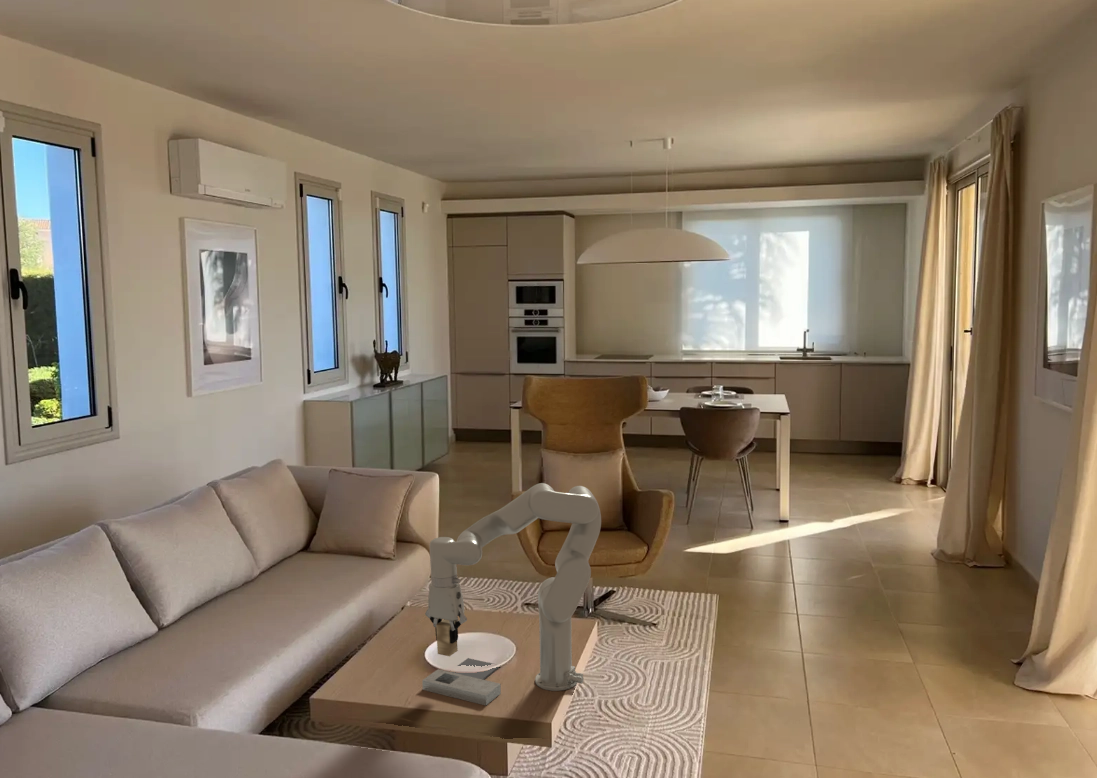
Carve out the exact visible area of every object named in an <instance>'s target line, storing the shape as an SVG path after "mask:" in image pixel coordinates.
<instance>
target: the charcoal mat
mask: <svg viewBox="0 0 1097 778" xmlns="http://www.w3.org/2000/svg"><path fill="white" fill-rule="evenodd" d="M491 664H494V663H492V662H488V661H487V662H486V661H484V660H483V661H482V660H478V659H474V658H469V657H467V658H466V659H465V660H463V661H462V662H461V663H459V664H457V666H461V665H466V666H469V665H470V666H472V665H473V666H474V667H475V665H476V666H481V667H482V666H485V665H487V666H488V665H491ZM498 668H499V667H496V668H492V669H490V670H488V671H484V672H477V673H456V672H455V673H456V674H461V675H465V676H469V677H474V678H478V679H482V680H487V679H488V678H489V677H490V676H491V675H492V674H494V673H495V672H496V671H497V670H499V669H500V668H499V669H498ZM452 673H454V672H452Z"/></svg>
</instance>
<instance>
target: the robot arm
mask: <svg viewBox="0 0 1097 778" xmlns="http://www.w3.org/2000/svg"><path fill="white" fill-rule="evenodd" d="M601 514H602V513H601V509H600V505H599V503H598V500H597V498H596V497H595V495H594V494H593V493H592V491H591V490H590V489H589V488H588V487H585V486H583V485H575V486H573V487H571V488H570V489H569V491H568V492H561V491H555V490H554V488H553V487H552V486H550V485H549V484H547V483H545V482H541V483H537V484H534V485H533V486H531V487H530V488H529V489H526V490H525V491H524V492H523V493H521V494H520V495H518V496H517V497H516V498H514V499H513V500H512V501H510V502H508V503H507V504H505V505H504V506H502V507H501V508H500V509H498V510H496V511H493V512H491V513H489V514H487V515H485V516H484V517H482V518H480V519H479V520H477V521H475V522H474V523H473V524H472V525H470V526H469V527H467V528H466V529H464V530H463V531H462V532H461V533H460V534H459V535H458V537H457V539H456V541H455V540H454V538H452V537H448V536H440V537H436V538H433V539H431V541H430V542H429V560H430V563H429V564H430V566H429V567H430V580H431V581H430V584H429V588H428V595H427V596H428V600H427V603H428V604H427V607H428V608H427V609H426V611H425V613H424V614H425V615H424V616H426V617H427V618H428V619H429V620H430V622H431V623H432V624H433V628H435V641H437V631H436V624H438V623H439V622H441V621H443V620H444V619H445V620H449V622H450V627H451V630H450V643H452V644H453V643H454V642H456V641H457V642H458V640H459V628H460V627H461V626H462V625H463V624H464V623H466V622H467V621H468V618H467V617H466V614H465V604H464V603H465V602H464V595H463V591H462V587H461V584H460V583H461V579H460V578H459V577H458V569H457V566H458V565H461V566H473V565H476V564H477V563H478V562H479V561H481V560H482V556H483V548H484V547H486V545H488V544H489V543H491V542H492V541H493V540H495V539H497V538H499V537H502V536H505V535H515V534H518V533H519V532H521V531H522V530H523V529H525V528H526V527H528V526H529V525H531V524H533V522H535V521H536V520H538V519H540V520H545V521H551V522H559V523H566V524H568V523H569V524H571V526H570V529H569V531H568V534H567V536H566V538H565V540H564V541H563V543H562V546H561V549H560V550H559V552H558V553H557V556H556V558H555V561H554V562H555V563H554V565H555V570H556V574H555V576H552V577H548V578H547V579H545V580H543V582H541V584H540V586H539V589H538V593H537V603H538V618H539V619H538V622H539V669H540V670H539V673H537V674H536V676H535V679H534V682H535V685H536V686H537V687H538V688H541V689H542V690H546V691H551V692H560V691H566V690H570V689H571V688H572V689H573V687H575V686H576V685H577V684H583V683H584V674H583V673H580V672H577V671H576V666H575V665H573V662H572V661H573V657H572V655H573V653H572V652H573V651H572V649H573V647H572V645H573V644H572V616H573V615H574V613H575V611H576V610H577V607H578V606H579V603H580V602H581V600H582V598H583V596H584V594H585V591H586V590H587V587H588V586H589V582H590V579H591V575H592V568H591V565H590V563H589V560H590V557H591V554H592V552H593V550H594V548H595V546H596V544H597V540H598V539H599V536H600V532H601V527H602V515H601ZM458 617H459V618H458ZM454 623H455V624H454Z"/></svg>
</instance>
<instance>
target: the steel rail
mask: <svg viewBox="0 0 1097 778" xmlns="http://www.w3.org/2000/svg"><path fill="white" fill-rule="evenodd" d="M421 684H422V690H423V691H426V692H431V693H433V694H438V695H442V696H446V697H450V698H453V699H457V700H463V701H466V702H469V703H474V704H479V705H483V706H488V705H489V704H490V703H491V702H492V701H493V700H495V699H496V698H497V697H499V696H500V695H501V693H502V692H501V691H502V690H501V689H502V688H501V685H502V684H501V683H499V682H495V681H491V680H487V679H485V680H482V679H478V678H474V677H469V676H465V675H461V674H456V673H452V672H449V671H448V670H443V669H439V668H438V669H436V670H434V671H433V672H432V673H430V674H429V675H428V676H426V677H425V678H423V679H422V683H421Z"/></svg>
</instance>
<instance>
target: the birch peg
mask: <svg viewBox="0 0 1097 778" xmlns="http://www.w3.org/2000/svg"><path fill="white" fill-rule="evenodd" d="M454 624H455V623H454ZM450 630H451V627H450V622H449V620H445V619H442V621H441V622H439V623H438V624H436V631H437V640H436V650H437V651H436V652H437V655H440V656H447V657H451V656H452V655H454V654H455V653H457V652H458V651H459V650H458V640H457V641H456V642H454V643H453V644H452V643H450ZM436 631H435V632H436Z"/></svg>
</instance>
